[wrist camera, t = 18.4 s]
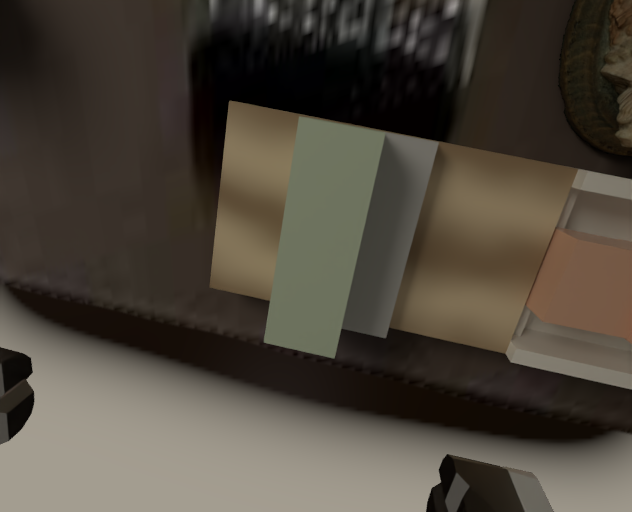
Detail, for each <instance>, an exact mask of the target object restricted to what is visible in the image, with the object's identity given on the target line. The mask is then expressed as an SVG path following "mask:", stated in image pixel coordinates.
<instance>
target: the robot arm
mask: <svg viewBox="0 0 632 512" xmlns="http://www.w3.org/2000/svg"><path fill="white" fill-rule="evenodd" d="M32 373H33V371H32V363H31V358H30V357H28V356H27V355H25V354H23V353H19V352H16V351H12V350H8V349H4V348H1V347H0V444H2V443H5V442H7V441H9V440H10V439H11V438H13V437H14V436H15V435H16V434H17V433H18V432H19V431H20V430H21V429H22V428H23V426H24V425H25V423H26V421H27V420H28V418H29V417H30V415H31V413H32V409H33V405H34V391H33V389H32V388H31V386H30V385H29V384H28V382H27V381H26V379H27V378H28V377H29V376H30V375H31V374H32ZM439 473H440V479H441V483H440V484H438V485H436V486H435V487H433V488H432V489H431V493H430V496H429V499H428V502H427V509H426V512H554V511H553V509H552V507H551V505H550V503H549V501H548V499H547V497H546V495H545V493H544V491H543V489H542V487H541V485H540V483H539V481H538V479H537V478H536V477H535V476H534V475H533V474H532V473H531V472H526V471H522V470H517V469H512V468H508V467H500V466H497V465H492V464H488V463H484V462H479V461H475V460H471V459H466V458H462V457H458V456H453V455H449V454H447V455H446V456H445V458H444V459H443V460H442V463H441V466H440V468H439Z"/></svg>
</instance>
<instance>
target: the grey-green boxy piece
mask: <svg viewBox="0 0 632 512" xmlns="http://www.w3.org/2000/svg"><path fill="white" fill-rule="evenodd" d="M438 144H439V142H435V141H430V140H425V139H419V138H414V137H409V136H404V135H398V134H393V133H388V132H383V131H377V130H372V129H367V128H362V127H356V126H351V125H346V124H341V123H336V122H330V121H325V120H320V119H315V118H308V117H300V116H299V120H298V127H297V133H296V139H295V146H294V152H293V158H292V165H291V171H290V178H289V184H288V190H287V197H286V203H285V210H284V216H283V222H282V229H281V235H280V242H279V248H278V254H277V261H276V267H275V273H274V280H273V286H272V293H271V299H270V305H269V312H268V318H267V325H266V331H265V337H264V343H268V344H273V345H277V346H282V347H286V348H291V349H295V350H299V351H304V352H308V353H313V354H317V355H322V356H326V357H330V358H335V354H336V350H337V345H338V341H339V336H340V332H341V329H346V330H350V331H355V332H359V333H364V334H368V335H373V336H377V337H382V338H386V336H387V332H388V329H389V325H390V321H391V317H392V314H393V310H394V306H395V303H396V299H397V295H398V292H399V288H400V284H401V281H402V277H403V273H404V270H405V266H406V262H407V258H408V255H409V251H410V247H411V244H412V240H413V236H414V233H415V229H416V225H417V222H418V218H419V214H420V211H421V207H422V203H423V199H424V196H425V192H426V188H427V185H428V181H429V177H430V174H431V170H432V166H433V163H434V159H435V155H436V151H437V148H438Z"/></svg>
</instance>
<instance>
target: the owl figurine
mask: <svg viewBox="0 0 632 512" xmlns="http://www.w3.org/2000/svg"><path fill="white" fill-rule="evenodd" d="M565 31H566V32H565V35H563V36H564V37H563V43H562V49H561V50H562V51H561V54H560V57H561V58H560V59H559V60H560V73H559V77H558V78H559V85H558V86H559V87H560V88H561V94H562V96H563V99H564V101H565V107H566V108H565V110H564V114H566V115H565V116H566V118H567V119H566V120H567V122H569V124H570V125H571V128H572V129H573V130H574V131H575V132H576V134H578V136H580V137H581V138H583V139H584V140H585V142H588V143H590V144H591V145H592V147H595V148H597V149H599V150H601V151H604V152H606V153H607V154H608V153H611V154H613V155H614V154H615V155H616V154H617V155H621V156H629V157H632V0H576V1H575V2H574V5H573V8H572V12H571V14H570V19H569V21H568V24H567V27H566V29H565Z"/></svg>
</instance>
